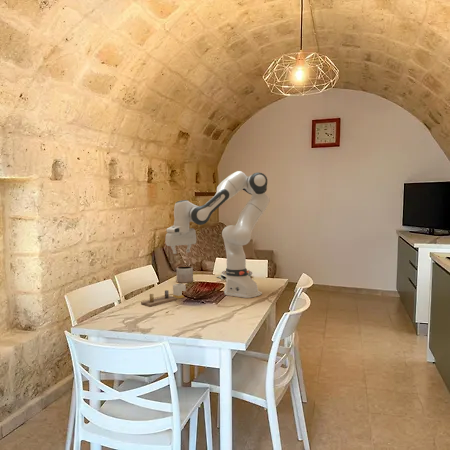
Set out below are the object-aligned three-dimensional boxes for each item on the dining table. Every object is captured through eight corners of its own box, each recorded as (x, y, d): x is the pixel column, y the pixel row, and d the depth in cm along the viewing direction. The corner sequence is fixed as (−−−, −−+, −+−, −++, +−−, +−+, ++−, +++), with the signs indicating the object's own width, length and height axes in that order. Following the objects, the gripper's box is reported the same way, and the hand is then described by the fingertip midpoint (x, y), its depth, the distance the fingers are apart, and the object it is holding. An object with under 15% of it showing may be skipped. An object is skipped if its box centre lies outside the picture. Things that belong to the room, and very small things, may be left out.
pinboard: (177, 299, 219) (176, 290, 219) (150, 306, 206) (149, 296, 206) (168, 297, 225) (167, 288, 225) (141, 304, 212) (140, 294, 212)
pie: (230, 272, 296) (230, 266, 296) (263, 276, 282) (264, 269, 282) (209, 280, 272) (209, 272, 272) (245, 284, 258) (245, 277, 258)
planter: (196, 280, 268) (196, 266, 268) (186, 284, 259) (186, 269, 259) (183, 279, 274) (183, 265, 274) (173, 282, 265) (172, 267, 264)
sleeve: (185, 296, 226) (185, 284, 225) (178, 298, 222) (178, 286, 222) (180, 295, 229) (179, 283, 229) (173, 297, 226) (172, 284, 225)
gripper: (191, 227, 238) (191, 250, 238) (163, 229, 223) (163, 253, 224) (199, 228, 233) (198, 252, 234) (170, 229, 219) (170, 255, 220)
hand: (181, 252), depth 229 cm, fingers open, 8 cm apart
